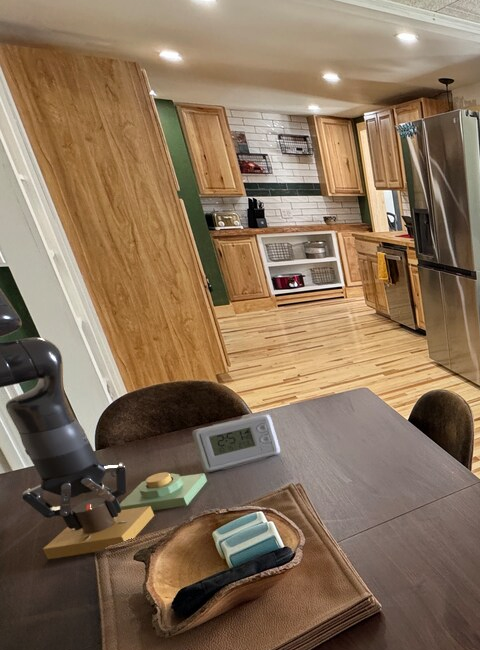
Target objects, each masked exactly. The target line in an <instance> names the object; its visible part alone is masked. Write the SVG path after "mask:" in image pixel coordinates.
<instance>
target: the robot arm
mask: <svg viewBox="0 0 480 650" xmlns="http://www.w3.org/2000/svg"><path fill="white" fill-rule="evenodd" d="M22 324H23V323H22V320H21V316H20V315H19V314H18V312H17V310H16V309H15V308H14V307H13V305H12V303H11V302H10V301H9V299H8V297H7V296H6V293H4V291H3V290H2V288H1V287H0V338H4V337H6V336H9V335H11V334H13V333H15V332H17V331H18V330H19V329H20V328H21V327H22ZM63 363H64V362H63V355H62V352H61V351H60V349H59V348H58V347H57V345H56V344H55V343H53V342H51V341H49V340H48V339H46V338H43V337H27V338H22V339H16V340H11V341H4V342H0V388H5V387H10V386H14V385H19V384H23V383H27V382H33V381H36V380H38V381H37V384H36V385H35V387H34V388H32V389H30V390H28V391H26V392H23V393H21V394H18V395H16V396H14V397H13V398H10V399H9V400H7V402H6V403H5V409H6V412H7V414H8V416H9V417H10V420H11V421H12V423H13V425H14V426H15V429H16V431H17V432H18V435H19V438H20V441H21V444H22V446H23V448H24V451H25V453H26V456H28V457H29V459H30V461H31V462H32V464H33V466H34V468H35V470H36V471H37V473H38V475H39V477H40V479H41V481H40V484H39V485H37V486H35V487H33V488H26V489H24V490H22V491H23V492H22V497H21V498H22V500H23V501H25V503H27V504H28V505H29V506H31V507H32V508H34V510H36V511H37V512H38V513H39V514H41V515H42V516H43V517H44V518H46V519H51V518H53V517H62V519H63V520H64V522H65V524H66V525H67V526H66V527H68V528H70V529H73V528H75V530H79V529H81V527H80V525H79V523H78V521H77V519H76V517H75V515H74V513H73V511H72V510H73V508H72V509H71V498H75V497H78V496H80V495H82V494H89V493H92V492H93V493H94V494H96V495H97V496H100V498H104V499H105V500H106V503H107V505H108V507H109V509H110V511H111V513H112V515H113V517H117V516H119V515H118V513H121V506H120V502H119V500H118V498H119V497H120V496H124V495H125V494H126V493H127V480H126V479H127V477H126V475H127V473H126V466H125V465H126V464H125V463H124V462H117V463H115V465H106V466H105V464H103V463H101V462H100V461H99V459H98V457H97V455H96V452H95V451H94V449H93V447H92V444H91V443H90V440H89V438H88V436H87V434H86V432H85V429H84V428H83V427H82V425H81V423H79V421H78V419H77V417H76V416H75V414H74V412H73V410H72V407H71V406H70V405H71V404H70V403H69V401H68V399H67V396H66V391H65V386H64V364H63ZM106 473H108V474H110V476H111V477H112V478H115V479H116V480H115V481H116V487H115V488H113V489H111V488H110V487H109V486H107V484H106V483H105V482H104V481H103V479H104V477H105V475H106ZM44 491H46V492H49V493H51V494H55V495H58V496H60V503H59V504H60V505H59V506H53V505H52V504H51V503H50V502H49V501H47V500H46V499H45V498H44Z"/></svg>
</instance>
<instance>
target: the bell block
mask: <svg viewBox="0 0 480 650" xmlns="http://www.w3.org/2000/svg"><path fill="white" fill-rule="evenodd" d="M169 474H170V476H171V479H172V482H170V483H169V484H167V485H165V486H161V487H158V488H152V489H150V488H148V485H147V483H146V480H144V481H141V483H140V484H138V485H137V486H136V487H135V489H133V490H132V491H131V492H130V493H129V494H128V495H127V496H126V497H125V498H124V499H123V500H122V501H121V502H119V504H120V506H121V510H126V509H133V508H140V507H147V506H150V507H151V509H152V511H153V512H154V511H160V510H167V509H173V508H178V507H179V508H180V507H186V506H188V505H189V504H190V503H191V502H192V500H193V499H194V497H196V495H197V494H198V493H199V492H200V490H201V489H202V488H203V486H205V484H206V483H207V482H208V479H207V476H206V475H205V473H196V474H187V475H180V474H178V473H169Z"/></svg>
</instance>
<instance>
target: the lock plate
mask: <svg viewBox="0 0 480 650" xmlns="http://www.w3.org/2000/svg"><path fill="white" fill-rule="evenodd" d="M118 515H119V516H117V517H114V518H115V520H116V521H115V523H114V524H113V525H112V526H110V527H108V528H106V529H104V530H102V531H99V532H95V533H84V532H83V530H82V528H81V529H79V530H75V528H73V529H70V528H68V526H66V527H65V528H64V529H62V531H61V532H60V533H59V534H58V535H57V536H56V537H54V538H53V539H52V540H51V541H50V542H49V543H47V545H45V546H44V547H43V548H42V551H43V552H44V554H45V556H46V558H47V560H53V559H59V558H64V557H65V558H66V557H71V556H78V555H84V554H91V553H95V552H96V553H97V552H101V551H100V550H102V549H103V548H104V549H105V548H106V547H108V546H110V545H114V544H118V543H121V542H124V541H126V540H128V539H131V538H132V539H133V538H134V539H135V538H136V537H137V536H138V535H139V534H140V533H141V531H142V530H143V529H144V527H146V526H147V524H148V523H149V522H150V521H151V520H152V519H153V517H155V514H154V510H153V511H152V509H151V507H150V506H147V507H140V508H133V509H126V510H121V513H118ZM134 539H133V540H134ZM102 551H103V550H102Z"/></svg>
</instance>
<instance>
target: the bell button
mask: <svg viewBox="0 0 480 650" xmlns="http://www.w3.org/2000/svg"><path fill="white" fill-rule="evenodd" d="M170 474H171V473H169V472H167V471H164V472H158V473H155V474H152V475H150V476H148V477H147V478H146V479H145V481H146V483H147V485H148V488H150V489H152V488H158V487H161V486H165V485H167V484H169V483H170V482H172V479H171V476H170Z"/></svg>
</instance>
